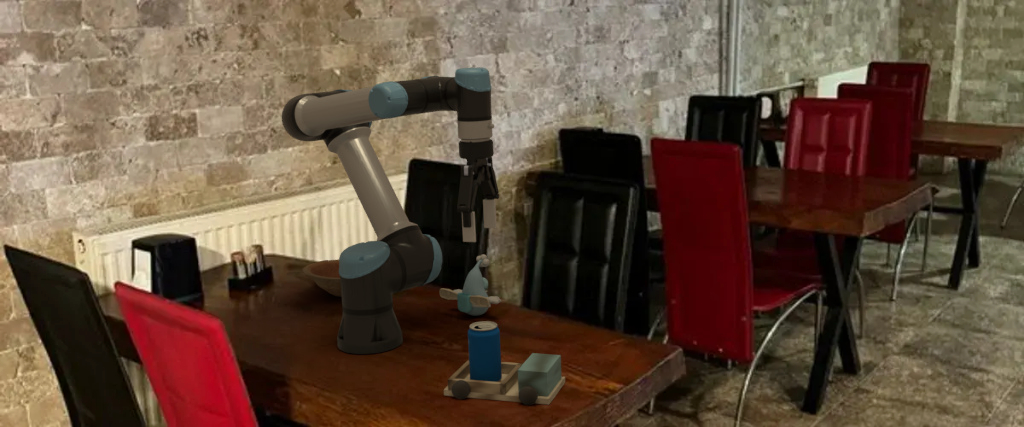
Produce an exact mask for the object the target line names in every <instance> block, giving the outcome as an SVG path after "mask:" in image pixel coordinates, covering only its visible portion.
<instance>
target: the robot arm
mask: <svg viewBox="0 0 1024 427" xmlns="http://www.w3.org/2000/svg"><path fill="white" fill-rule="evenodd" d="M442 111H444V112H446V111H447V112H456V120H457V137H458V139H459V140H460V141H459V142H458V156H459V158H461V159H463V160H464V159H465V160H466V165H461V166H460V179H459V187H458V188H459V189H458V196H457V206H456V213H461V227H462V242H463V243H465V242H466V243H476V242H477V233H476V232H477V231H476V213H475V212H476V211H473V210H474V207H475V200H476V196H477V192H478V187H480V189H481V192H482V196H483V197H484V199H482V205H483V227H484V229H496V228H497V210H496V209H497V206H496V199H497V200H499V199H500V194H499V192H500V191H499V188H498V183H497V179H496V175H495V168H494V166H493V165H494V164H493V156H494V141H493V140H492V137H493V129H495V124H494V123H493V118H492V116H493V115H492V85H491V77H490V71H489V70H488V69H487V68H486V67H481V66H480V67H479V66H478V67H461V68H457V69H456V70H455V72H454V76H440V75H429V76H423V77H421V78H415V79H408V80H406V79H405V80H396V81H390V80H389V81H384V82H381V83H377V84H375V85H372V86H368V87H364V88H363V87H362V88H359V89H354V90H353V89H344V88H343V89H334V90H330V91H320V92H311V93H303V94H302V93H301V94H299V95H295V96H294V97H291V99H290V100H288V101H287V102H286V103H285V105H284V107H283V109H282V112H281V124H282V126H283V129H284V130H285V131H286V133H287V134H288V135H289V136H290V137H291V138H294V139H296V140H298V141H301V142H315V141H316V142H317V141H324V144H325V145H326V148H327V150H328V152H331V153H333V154H336V155H337V156H338V158H339V161H340V163H341V165H342V167H343V169H344V171H345V173H346V175H347V177H348V179H349V181H350V183H351V185H352V187H353V189H354V191H355V194H356V196H357V197H358V200H359V202H360V204H361V206H362V208H363V210H364V213H365V215H366V217H367V218H368V221H369V222H370V225H371V227H372V228H373V231H374V233H375V235H376V240H368V241H366V242H365V241H364V242H359V243H355V244H352V245H350V246H348V247H346V248H344V249H343V251H341V253H340V255H339V258H338V260H339V275H340V283H341V296H342V297H341V305H342V306H341V307H342V316H341V321H340V324H339V328H338V333H337V337H336V338H337V339H336V341H337V348H338V350H340V351H341V352H344V353H349V354H354V355H369V354H370V355H372V354H379V353H383V352H388V351H391V350H394V349H395V348H398V347H399V346H401V345H402V344H403V340H404V339H403V338H404V337H403V331H402V329H401V326H400V323H399V321H398V318H397V316H396V314H395V311H394V303H393V294H397V293H401V292H403V291H407V290H410V289H414V288H416V287H422V286H423V287H424V286H425V285H426V284H429V283H431V282H433V281H434V280H435V279H437V278H438V276H439V274H440V272H441V269H442V264H443V253H442V252H443V251H442V249H441V246H440V244H439V242H438V240H437V239H436V238H435V237H433V236H432V235H430V234H423V233H422V230H421V228H420V226H419V225H418V224H417V223H415V222H411V221H410V220H409V218H408V216H407V214H406V212H405V210H404V208H403V206H402V204H401V202H400V199H399V198H398V196H397V194H396V192H395V190H394V188H393V186H392V183H391V182H390V180H389V178H388V175H387V174H386V172H385V169H384V168H383V165H382V163H381V161H380V159H379V157H378V155H377V153H376V152H375V149H374V146H373V145H372V143H371V141H370V137H371V134H372V130H371V127H372V125H373V122H375V121H376V122H377V121H383V120H390V119H395V118H399V117H406V116H412V115H420V114H421V115H422V114H428V113H434V112H435V113H436V112H442Z"/></svg>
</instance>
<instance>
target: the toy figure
mask: <svg viewBox="0 0 1024 427" xmlns="http://www.w3.org/2000/svg"><path fill="white" fill-rule="evenodd" d="M475 260H476V264H475V265H474V267H473V268H472V269H471V270H470V271H469V272H468V273H467V276H466V278H465V281H464V283H463V288H462V289H460V288H458V289H453V290H452V289H451V288H444V287H443V288H439V296H440V298H442V299H445V300H449V301H452V300H453V301H455V300H456V301H457V309H458V310H459V312H461V313H466V314H467V315H469V316H475V317H476V316H478V317H479V316H481V315H483V314H485V313H486V312H487V311H488V310H489V308H491V304H492V305H498V304H500V303H501V302H502V299H500V297H499V296H492V295H491V296H489V295H488V293H487V292H488V288H489V281H488V279H487V278H486V277H483V275H482V272H481V270H480V268H487V267H489V266H490V259H488V256H487V255H486V254H483V253H482V254H480V255H477V256H476V259H475Z"/></svg>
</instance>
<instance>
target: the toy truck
mask: <svg viewBox="0 0 1024 427" xmlns="http://www.w3.org/2000/svg"><path fill="white" fill-rule="evenodd" d="M501 371H502V378H501V380H500V381H498V382H492V381H479V380H470V367H469V359H467V360H466V362H465V363H463V364H462V365H461V366H460V368H458V369H457V370H456V371H455V372H454V373H453V374H452V375H450V377H449V378H448V379H447V386H446V387H445V388H444V389H443V396H444V397H445V396H447V397H455V398H456V400H457V399H458V400H465V399H466V398H467V399H469V398H470V399H478V400H479V399H480V400H493V401H504V402H516V403H522V404H523V405H525V406H532V405H534V404H538V405H549V406H550V404H551V403H552V401H553V400H554V399H555V397H556V396H557V395H558V394H559V392H560V390H561V389H562V387H563V386H564V385H565V383H566V376H562V356H561V354H549V353H537V352H536V353H534V352H532V353H531V354H530V355H529V357H527V358H526V360H525V361H524V362H523V363H520V362H509V361H501Z"/></svg>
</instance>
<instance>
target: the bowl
mask: <svg viewBox="0 0 1024 427" xmlns="http://www.w3.org/2000/svg"><path fill="white" fill-rule="evenodd" d="M302 272H303V273H304V275H306V276H308V277H311V278H312V280H313V282H315V284H316V285H317V287H319V288H321V289H322V290H324V291H326V292H327V293H329V294H330V295H333V296H335V297H341V298H342V296H341V283H340V275H339V259H329V260H328V259H324V260H320V261H317V262H312V263H310V264H308V265H305V266H304V267H303V268H302Z"/></svg>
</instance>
